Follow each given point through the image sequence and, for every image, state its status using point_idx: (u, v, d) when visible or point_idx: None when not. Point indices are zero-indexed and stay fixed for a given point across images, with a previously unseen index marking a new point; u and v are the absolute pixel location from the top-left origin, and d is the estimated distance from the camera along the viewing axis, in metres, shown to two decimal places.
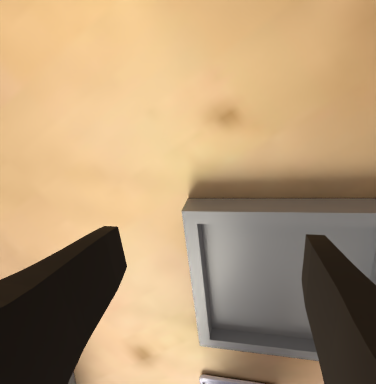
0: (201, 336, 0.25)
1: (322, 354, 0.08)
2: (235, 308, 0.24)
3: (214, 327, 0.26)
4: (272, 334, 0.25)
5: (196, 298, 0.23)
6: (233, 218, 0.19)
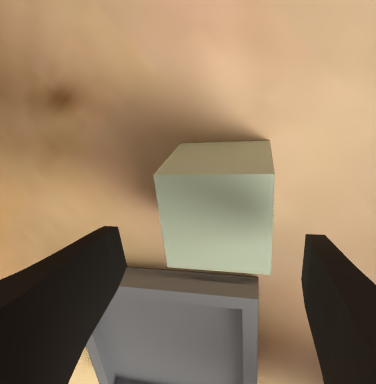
0: None
1: (322, 354, 0.08)
2: (211, 378, 0.24)
3: None
4: (242, 359, 0.22)
5: None
6: (100, 372, 0.25)
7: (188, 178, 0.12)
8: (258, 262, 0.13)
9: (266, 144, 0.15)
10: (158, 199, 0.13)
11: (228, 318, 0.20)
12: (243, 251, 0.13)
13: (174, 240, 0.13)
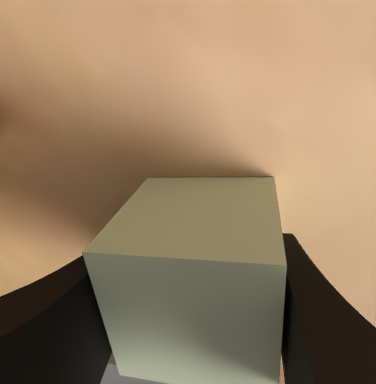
0: None
1: (283, 349, 0.08)
2: None
3: None
4: None
5: None
6: None
7: (139, 261, 0.07)
8: None
9: (268, 185, 0.10)
10: (95, 287, 0.08)
11: None
12: (234, 368, 0.08)
13: (126, 343, 0.09)
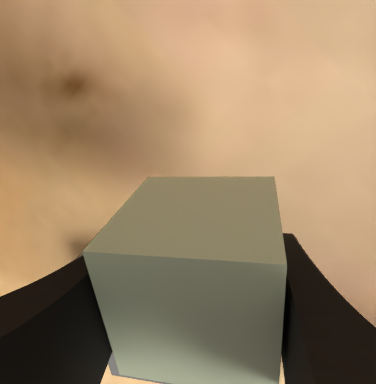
0: None
1: (283, 349, 0.08)
2: None
3: None
4: None
5: None
6: None
7: (139, 261, 0.07)
8: None
9: (268, 185, 0.10)
10: (95, 286, 0.08)
11: None
12: (234, 367, 0.08)
13: (127, 343, 0.09)
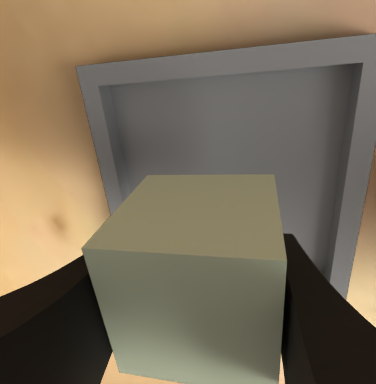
0: None
1: (283, 349, 0.08)
2: None
3: (322, 270, 0.17)
4: (334, 196, 0.15)
5: None
6: None
7: (139, 257, 0.07)
8: (258, 382, 0.08)
9: (269, 182, 0.10)
10: (94, 283, 0.08)
11: (323, 116, 0.14)
12: (234, 365, 0.08)
13: (126, 340, 0.09)
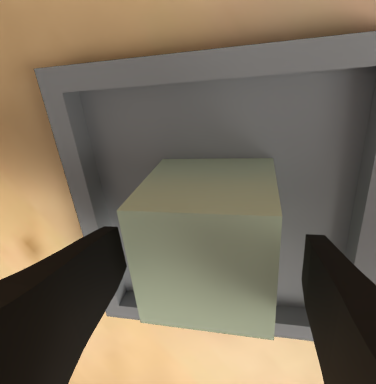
0: None
1: (322, 354, 0.08)
2: (282, 273, 0.15)
3: None
4: (348, 224, 0.13)
5: None
6: None
7: (164, 217, 0.09)
8: (258, 325, 0.10)
9: (268, 164, 0.12)
10: (125, 241, 0.09)
11: (337, 130, 0.11)
12: (238, 310, 0.10)
13: (148, 292, 0.10)
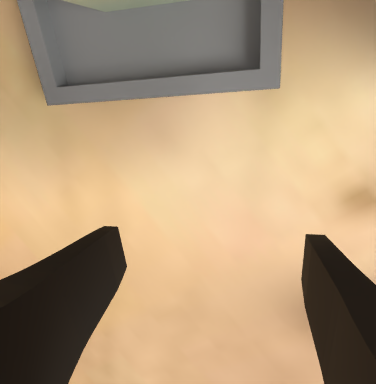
0: (253, 84, 0.15)
1: (322, 354, 0.08)
2: (207, 26, 0.15)
3: (257, 63, 0.15)
4: None
5: (171, 92, 0.16)
6: (36, 40, 0.16)
7: None
8: None
9: None
10: None
11: None
12: None
13: None
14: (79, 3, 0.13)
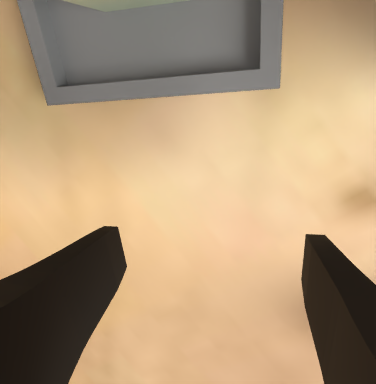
0: (253, 84, 0.15)
1: (322, 354, 0.08)
2: (207, 26, 0.15)
3: (257, 63, 0.15)
4: None
5: (171, 92, 0.16)
6: (36, 40, 0.16)
7: None
8: None
9: None
10: None
11: None
12: None
13: None
14: (79, 3, 0.13)
